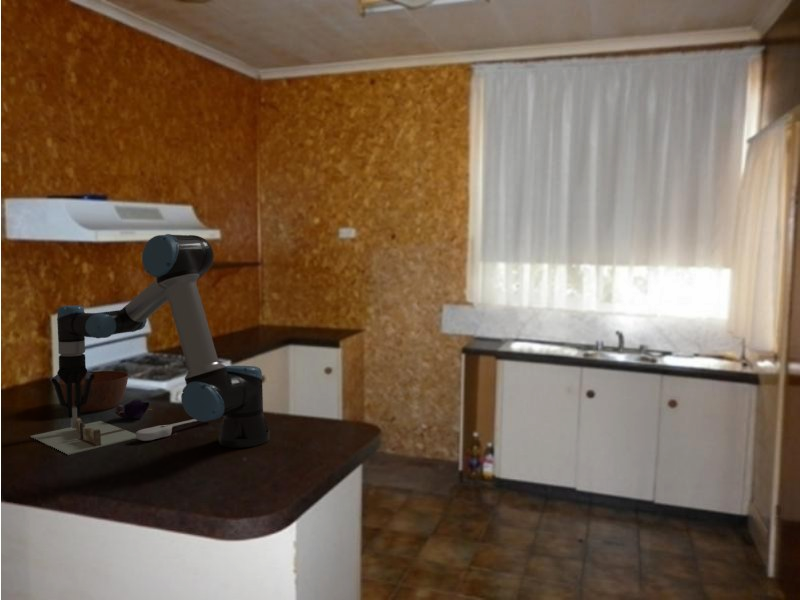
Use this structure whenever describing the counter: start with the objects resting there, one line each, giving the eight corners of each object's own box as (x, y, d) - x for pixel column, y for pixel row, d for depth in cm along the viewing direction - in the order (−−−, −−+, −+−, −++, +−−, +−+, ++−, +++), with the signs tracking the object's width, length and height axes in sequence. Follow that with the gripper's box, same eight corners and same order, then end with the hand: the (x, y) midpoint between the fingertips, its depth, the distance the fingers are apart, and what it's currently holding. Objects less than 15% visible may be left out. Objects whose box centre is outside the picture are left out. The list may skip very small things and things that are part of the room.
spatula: (207, 422, 215) (207, 414, 215) (218, 425, 212) (218, 416, 212) (131, 440, 192) (131, 430, 192) (142, 443, 189) (142, 434, 189)
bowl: (81, 419, 219) (79, 387, 218) (42, 410, 232) (40, 380, 231) (144, 404, 240) (142, 374, 239) (104, 396, 253) (103, 368, 252)
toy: (151, 421, 217) (149, 402, 215) (115, 425, 213) (113, 407, 212) (153, 411, 227) (151, 393, 226) (118, 415, 223) (116, 397, 222)
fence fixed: (101, 446, 188) (100, 428, 188) (96, 447, 187) (95, 429, 187) (84, 439, 195) (83, 422, 195) (79, 440, 194) (78, 423, 194)
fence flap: (84, 436, 196) (84, 423, 196) (79, 437, 195) (79, 423, 195) (80, 428, 205) (79, 415, 205) (75, 428, 204) (74, 416, 204)
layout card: (141, 437, 197) (141, 435, 197) (67, 455, 180) (67, 453, 180) (100, 422, 215) (100, 420, 215) (30, 437, 198) (30, 435, 198)
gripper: (90, 350, 206) (92, 421, 208) (46, 354, 198) (49, 428, 200) (96, 353, 201) (99, 426, 202) (52, 357, 192) (54, 433, 194)
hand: (74, 427), depth 201 cm, fingers closed
